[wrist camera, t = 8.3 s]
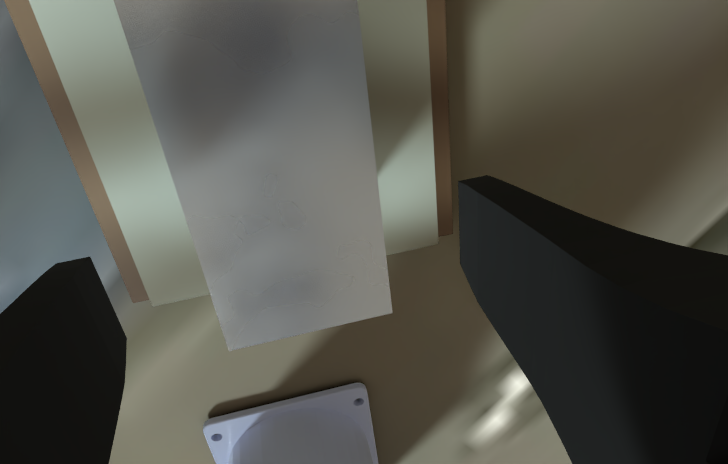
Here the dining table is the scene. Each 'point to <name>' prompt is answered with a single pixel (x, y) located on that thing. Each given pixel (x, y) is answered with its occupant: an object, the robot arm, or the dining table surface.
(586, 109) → the dining table surface
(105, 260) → the dining table surface
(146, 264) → the stand
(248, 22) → the housing
